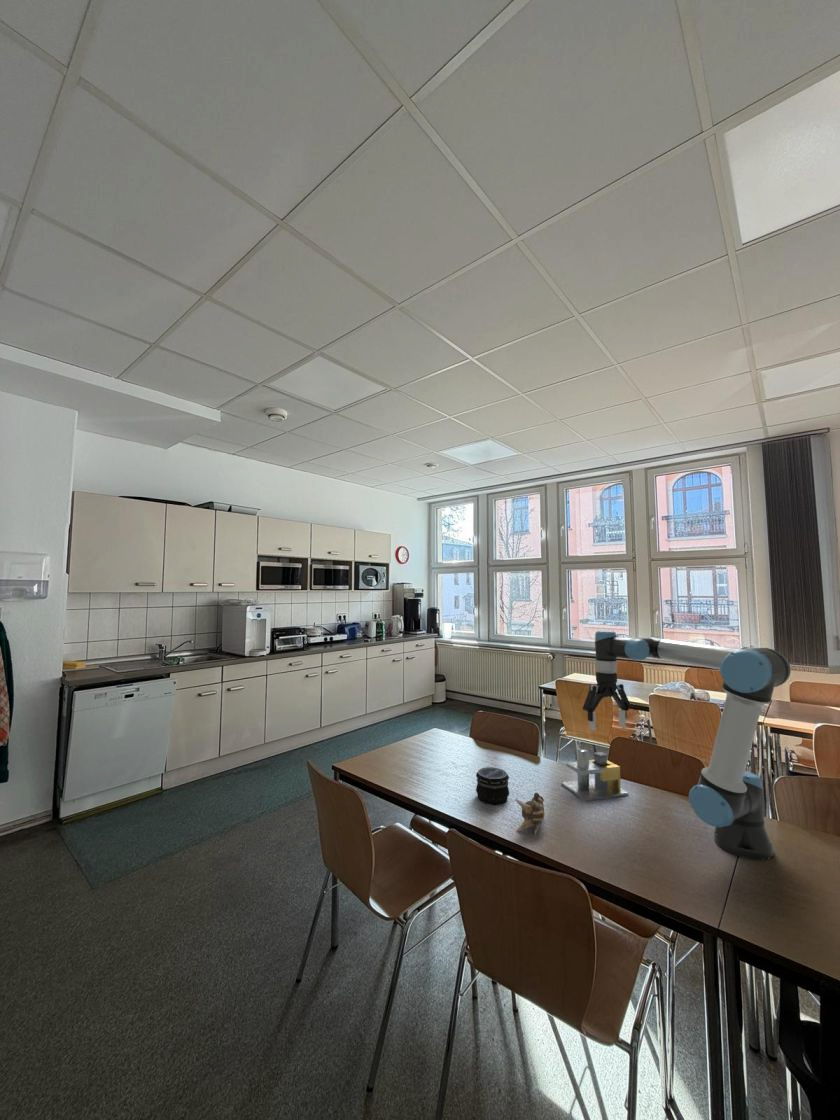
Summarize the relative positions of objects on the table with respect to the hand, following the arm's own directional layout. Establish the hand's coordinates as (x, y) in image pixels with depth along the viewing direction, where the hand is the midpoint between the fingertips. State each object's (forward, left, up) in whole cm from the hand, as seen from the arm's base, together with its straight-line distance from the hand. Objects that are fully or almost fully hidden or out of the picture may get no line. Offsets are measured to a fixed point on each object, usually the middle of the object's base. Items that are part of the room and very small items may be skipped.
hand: (607, 728), depth 170 cm
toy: (-4, +34, -29) cm, 45 cm away
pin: (+15, -9, -28) cm, 33 cm away
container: (+19, +39, -29) cm, 52 cm away
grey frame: (+15, -5, -29) cm, 33 cm away
